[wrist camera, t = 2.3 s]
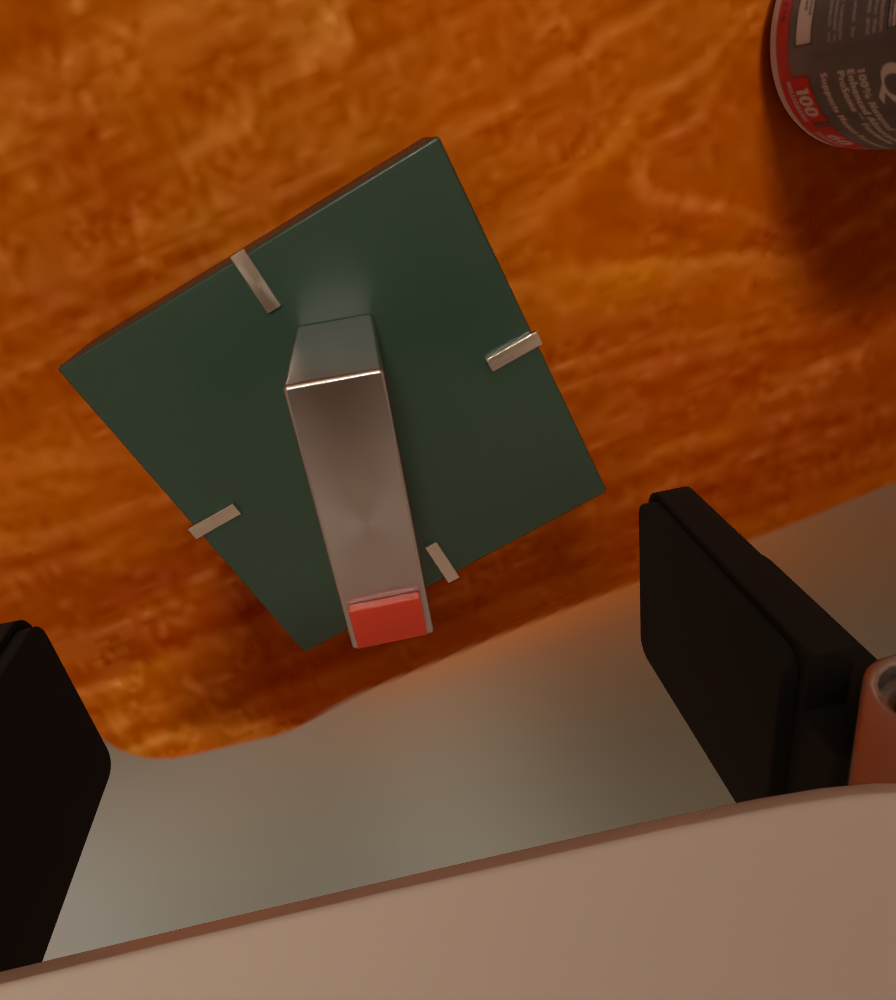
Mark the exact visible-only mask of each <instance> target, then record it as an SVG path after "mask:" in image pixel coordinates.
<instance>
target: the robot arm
mask: <svg viewBox="0 0 896 1000" xmlns="http://www.w3.org/2000/svg"><path fill="white" fill-rule="evenodd" d="M639 547H640V616H641V618H640V619H641V642H642V646H643V650H644V653H645V655H646V657H647V659H648V661H649V663H650V664H651V666H652V667H653V669H654V671H655V672H656V674H657V676H658V677H659V679H660V680H661V682H662V683H663V685H664V687H665V688H666V690H667V692H668V693H669V695H670V697H671V698H672V700H673V701H674V703H675V705H676V706H677V708H678V710H679V711H680V713H681V714H682V716H683V718H684V719H685V721H686V722H687V724H688V726H689V727H690V729H691V731H692V732H693V734H694V736H695V737H696V738H697V740H698V742H699V744H700V745H701V747H702V748H703V750H704V752H705V753H706V755H707V756H708V758H709V760H710V761H711V763H712V765H713V766H714V768H715V769H716V771H717V773H718V774H719V776H720V777H721V779H722V781H723V782H724V784H725V786H726V787H727V789H728V790H729V792H730V794H731V795H732V797H733V799H734V800H735V802H736V803H735V804H730V805H726V806H720V807H716V808H711V809H706V810H701V811H696V812H692V813H687V814H682V815H678V816H672V817H668V818H663V819H658V820H654V821H648V822H644V823H639V824H635V825H630V826H626V827H621V828H617V829H613V830H608V831H604V832H600V833H595V834H590V835H586V836H582V837H577V838H573V839H568V840H564V841H560V842H555V843H551V844H546V845H542V846H537V847H533V848H529V849H524V850H520V851H515V852H511V853H506V854H502V855H498V856H494V857H489V858H485V859H480V860H476V861H471V862H467V863H462V864H458V865H453V866H449V867H445V868H441V869H436V870H432V871H428V872H424V873H419V874H415V875H410V876H406V877H402V878H397V879H393V880H388V881H385V882H380V883H376V884H371V885H367V886H363V887H358V888H354V889H350V890H345V891H341V892H337V893H332V894H328V895H324V896H320V897H315V898H311V899H307V900H303V901H298V902H294V903H289V904H285V905H281V906H277V907H272V908H268V909H264V910H259V911H255V912H251V913H247V914H242V915H239V916H234V917H229V918H225V919H221V920H217V921H212V922H208V923H204V924H200V925H195V926H191V927H187V928H183V929H179V930H175V931H170V932H166V933H162V934H158V935H154V936H149V937H145V938H141V939H137V940H132V941H128V942H124V943H120V944H116V945H112V946H107V947H104V948H99V949H95V950H91V951H86V952H82V953H78V954H74V955H69V956H65V957H61V958H57V959H53V960H49V961H44V962H42V961H43V958H44V955H45V952H46V950H47V947H48V944H49V941H50V939H51V936H52V933H53V930H54V927H55V924H56V922H57V919H58V916H59V914H60V911H61V908H62V905H63V903H64V900H65V897H66V894H67V892H68V889H69V886H70V883H71V881H72V878H73V875H74V872H75V869H76V867H77V864H78V861H79V858H80V856H81V853H82V850H83V847H84V845H85V842H86V839H87V836H88V834H89V831H90V828H91V825H92V822H93V820H94V817H95V814H96V811H97V808H98V806H99V803H100V800H101V797H102V795H103V792H104V789H105V787H106V784H107V781H108V778H109V775H110V769H111V760H110V755H109V752H108V749H107V747H106V746H105V744H104V742H103V740H102V738H101V736H100V734H99V732H98V731H97V729H96V727H95V725H94V723H93V721H92V719H91V717H90V716H89V714H88V712H87V710H86V708H85V706H84V704H83V702H82V700H81V699H80V697H79V695H78V693H77V691H76V689H75V687H74V685H73V684H72V682H71V680H70V678H69V676H68V674H67V672H66V670H65V668H64V667H63V665H62V663H61V661H60V659H59V657H58V655H57V653H56V652H55V650H54V648H53V646H52V644H51V642H50V640H49V638H48V637H47V635H46V633H45V632H44V630H43V629H41V628H40V627H32V626H31V625H30V624H29V623H28V622H26V621H23V620H18V621H13V622H8V623H3V624H0V1000H896V655H891V656H888V657H885V658H881V659H878V660H877V659H876V658H875V657H874V656H873V655H872V654H870V653H869V652H868V651H867V650H866V649H865V648H864V647H863V646H862V645H861V644H860V643H859V642H858V641H856V639H854V638H853V637H852V636H851V635H850V634H849V633H848V632H847V631H846V630H845V629H843V627H842V626H841V625H840V624H838V623H837V622H836V621H835V620H834V619H833V618H832V617H831V616H830V615H829V614H828V613H827V612H826V611H825V610H823V609H822V608H821V607H820V606H819V605H818V604H817V603H816V602H815V601H814V600H813V599H812V598H811V597H809V596H808V595H807V594H806V593H805V592H804V591H803V590H802V589H801V588H800V587H799V586H798V585H797V584H796V583H794V582H793V581H792V580H791V579H790V578H789V577H788V576H787V575H786V574H785V573H784V572H783V571H782V570H781V569H780V568H779V567H777V566H776V565H775V564H774V563H773V562H772V561H771V560H769V559H768V558H766V557H765V556H763V555H761V554H760V553H759V552H758V551H757V550H756V549H755V548H754V547H753V546H752V545H751V544H750V543H749V542H748V541H747V540H746V539H744V538H743V537H742V536H741V535H740V534H739V533H738V532H737V531H736V530H735V529H734V528H733V527H732V526H731V525H730V524H729V523H727V522H726V521H725V520H724V519H723V518H722V517H721V516H720V515H719V514H718V513H717V512H716V511H715V510H714V509H713V508H712V507H710V506H709V505H708V504H707V503H706V502H705V501H704V500H703V499H702V498H701V497H700V496H699V495H698V494H697V493H696V492H695V491H693V490H692V489H691V488H689V487H681V488H676V489H671V490H666V491H661V492H656V493H652V494H651V495H650V498H649V503H647V504H642V505H641V506H640V509H639Z"/></svg>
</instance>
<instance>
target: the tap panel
mask: <svg viewBox="0 0 896 1000" xmlns="http://www.w3.org/2000/svg"><path fill="white" fill-rule="evenodd" d="M363 315H372V316H373V319H374V324H375V329H376V333H377V338H378V343H379V348H380V353H381V358H382V363H383V368H384V373H385V378H386V384H387V389H388V394H389V399H390V404H391V410H392V415H393V420H394V425H395V430H396V435H397V441H398V446H399V451H400V456H401V461H402V467H403V472H404V477H405V482H406V487H407V492H408V498H409V503H410V508H411V513H412V518H413V524H414V529H415V534H416V539H417V544H418V549H419V555H420V560H421V565H422V570H423V575H424V580H425V586H426V587H427V586H429V585H431V584H433V583H435V582H437V581H439V580H441V579H443V578H444V577H445V578H446V580H447V581H448V583H450V582H451V581H453V580H455V579H457V578H459V574H458V573H457V571H458V570H459V569H461V568H463V567H465V566H467V565H469V564H471V563H473V562H474V561H476V560H478V559H480V558H482V557H484V556H486V555H488V554H489V553H491V552H493V551H495V550H497V549H499V548H501V547H503V546H505V545H506V544H508V543H510V542H512V541H514V540H516V539H518V538H520V537H521V536H523V535H525V534H527V533H529V532H531V531H533V530H535V529H536V528H538V527H540V526H542V525H544V524H546V523H548V522H550V521H552V520H553V519H555V518H557V517H559V516H561V515H563V514H565V513H567V512H568V511H570V510H572V509H574V508H576V507H578V506H580V505H582V504H583V503H585V502H587V501H589V500H591V499H593V498H595V497H597V496H598V495H600V494H602V493H604V492H605V491H606V488H605V486H604V484H603V482H602V480H601V478H600V476H599V473H598V471H597V469H596V467H595V465H594V463H593V461H592V459H591V457H590V454H589V452H588V450H587V448H586V446H585V444H584V442H583V440H582V438H581V435H580V433H579V431H578V429H577V427H576V425H575V423H574V421H573V419H572V416H571V414H570V412H569V410H568V408H567V406H566V404H565V402H564V400H563V398H562V395H561V393H560V391H559V389H558V387H557V385H556V383H555V381H554V379H553V376H552V374H551V372H550V370H549V368H548V366H547V364H546V362H545V360H544V357H543V355H542V353H541V351H540V349H539V347H538V346H540V345H541V344H542V341H541V339H540V337H539V335H538V333H537V331H536V330H534V331H533V332H531V330H530V328H529V326H528V324H527V322H526V320H525V317H524V315H523V313H522V311H521V309H520V307H519V305H518V303H517V301H516V298H515V296H514V294H513V292H512V290H511V288H510V286H509V284H508V282H507V279H506V277H505V275H504V273H503V271H502V269H501V267H500V265H499V263H498V261H497V258H496V256H495V254H494V252H493V250H492V248H491V246H490V244H489V242H488V239H487V237H486V235H485V233H484V231H483V229H482V227H481V225H480V223H479V220H478V218H477V216H476V214H475V212H474V210H473V208H472V206H471V204H470V202H469V199H468V197H467V195H466V193H465V191H464V189H463V187H462V185H461V183H460V180H459V178H458V176H457V174H456V172H455V170H454V168H453V166H452V164H451V161H450V159H449V157H448V155H447V153H446V151H445V149H444V147H443V145H442V142H441V140H440V138H438V137H426V138H422V139H420V140H419V141H417V142H415V143H414V144H412V145H410V146H409V147H407V148H406V149H404V150H402V151H401V152H399V153H397V154H396V155H394V156H392V157H391V158H389V159H388V160H386V161H384V162H383V163H381V164H379V165H378V166H376V167H375V168H373V169H371V170H370V171H368V172H366V173H365V174H363V175H362V176H360V177H358V178H357V179H355V180H353V181H352V182H350V183H348V184H347V185H345V186H344V187H342V188H340V189H339V190H337V191H335V192H334V193H332V194H331V195H329V196H327V197H326V198H324V199H322V200H321V201H319V202H318V203H316V204H314V205H313V206H311V207H309V208H308V209H306V210H304V211H303V212H301V213H300V214H298V215H296V216H295V217H293V218H291V219H290V220H288V221H287V222H285V223H283V224H282V225H280V226H278V227H277V228H275V229H274V230H272V231H270V232H269V233H267V234H265V235H264V236H262V237H260V238H259V239H257V240H256V241H254V242H252V243H251V244H249V245H247V246H246V247H244V248H243V249H241V250H239V251H238V252H236V253H234V254H233V255H231V256H229V257H228V258H226V259H225V260H223V261H221V262H220V263H218V264H216V265H215V266H213V267H212V268H210V269H208V270H207V271H205V272H203V273H202V274H200V275H199V276H197V277H195V278H194V279H192V280H190V281H189V282H187V283H185V284H184V285H182V286H181V287H179V288H177V289H176V290H174V291H172V292H171V293H169V294H168V295H166V296H164V297H163V298H161V299H159V300H158V301H156V302H155V303H153V304H151V305H150V306H148V307H146V308H145V309H143V310H141V311H140V312H138V313H137V314H135V315H133V316H132V317H130V318H128V319H127V320H125V321H124V322H122V323H120V324H119V325H117V326H115V327H114V328H112V329H111V330H109V331H107V332H106V333H104V334H102V335H101V336H99V337H97V338H96V339H94V340H93V341H91V342H90V343H89V344H88V345H86V346H85V347H84V348H82V349H81V350H80V351H79V352H77V353H76V354H75V355H74V356H72V357H71V358H70V359H69V360H67V361H66V362H65V363H64V364H62V365H61V366H60V367H59V371H60V372H61V373H62V374H63V376H64V377H65V378H66V379H67V380H68V381H69V382H70V384H71V385H72V386H73V387H74V388H75V389H76V390H77V392H78V393H79V394H80V395H81V396H82V397H83V399H84V400H85V401H86V402H87V403H88V404H89V405H90V407H91V408H92V409H93V410H94V411H95V412H96V413H97V415H98V416H99V417H100V418H101V419H102V420H103V421H104V423H105V424H106V425H107V426H108V427H109V428H110V429H111V431H112V432H113V433H114V434H115V435H116V436H117V438H118V439H119V440H120V441H121V442H122V443H123V444H124V446H125V447H126V448H127V449H128V450H129V451H130V452H131V454H132V455H133V456H134V457H135V458H136V459H137V460H138V462H139V463H140V464H141V465H142V466H143V467H144V469H145V470H146V471H147V472H148V473H149V474H150V475H151V477H152V478H153V479H154V480H155V481H156V482H157V483H158V485H159V486H160V487H161V488H162V489H163V490H164V491H165V493H166V494H167V495H168V496H169V497H170V498H171V500H172V501H173V502H174V503H175V504H176V505H177V506H178V508H179V509H180V510H181V511H182V512H183V513H184V514H185V516H186V517H187V518H188V519H189V520H190V521H191V522H192V525H191V526H189V527H188V530H189V531H190V533H191V534H192V535H193V536H194V537H195V538H196V539H197V538H199V537H201V536H204V537H205V539H206V540H207V541H208V542H209V543H210V544H211V545H212V547H213V548H214V549H215V550H216V551H217V552H218V553H219V555H220V556H221V557H222V558H223V559H224V560H225V562H226V563H227V564H228V565H229V566H230V567H231V568H232V570H233V571H234V572H235V573H236V574H237V575H238V576H239V578H240V579H241V580H242V581H243V582H244V583H245V584H246V586H247V587H248V588H249V589H250V590H251V591H252V593H253V594H254V595H255V596H256V597H257V598H258V599H259V601H260V602H261V603H262V604H263V605H264V606H265V607H266V609H267V610H268V611H269V612H270V613H271V614H272V615H273V617H274V618H275V619H276V620H277V621H278V622H279V623H280V625H281V626H282V627H283V628H284V629H285V630H286V632H287V633H288V634H289V635H290V636H291V637H292V638H293V640H294V641H295V642H296V643H297V644H298V645H299V646H300V648H301V649H302V650H303V651H307V650H309V649H311V648H313V647H315V646H317V645H318V644H320V643H322V642H324V641H326V640H328V639H330V638H332V637H333V636H335V635H337V634H339V633H341V632H343V631H345V630H347V629H348V628H347V625H346V621H345V617H344V614H343V610H342V606H341V603H340V599H339V595H338V591H337V588H336V584H335V580H334V577H333V573H332V569H331V565H330V562H329V558H328V554H327V551H326V547H325V543H324V539H323V536H322V532H321V528H320V525H319V521H318V517H317V513H316V510H315V506H314V502H313V499H312V495H311V491H310V487H309V484H308V480H307V476H306V473H305V469H304V465H303V462H302V458H301V454H300V450H299V447H298V443H297V439H296V436H295V432H294V428H293V424H292V421H291V417H290V413H289V410H288V406H287V402H286V398H285V395H284V391H283V388H284V383H285V379H286V375H287V370H288V366H289V361H290V357H291V352H292V348H293V344H294V339H295V335H296V330H297V328H298V327H301V326H307V325H312V324H318V323H324V322H329V321H335V320H341V319H346V318H352V317H358V316H363Z"/></svg>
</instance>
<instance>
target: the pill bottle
mask: <svg viewBox="0 0 896 1000" xmlns="http://www.w3.org/2000/svg"><path fill="white" fill-rule="evenodd" d="M770 59H771V68H772V74H773V78H774V82H775V86H776V89H777V92H778V95H779V97H780V99H781V101H782V104H783V106H784V108H785V109H786V111H787V112H788V114H789V115H790V117H791V118H792V119H793V120H794V121H795V122H796V123H797V125H798V126H799V127H800V128H801V129H802V130H804V131H805V132H806V133H808V134H809V135H810V136H812V137H814V138H815V139H817V140H819V141H821V142H823V143H826V144H829V145H832V146H836V147H842V148H849V149H867V150H896V0H776V3H775V7H774V12H773V18H772V23H771V34H770Z"/></svg>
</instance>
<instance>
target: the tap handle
mask: <svg viewBox="0 0 896 1000" xmlns="http://www.w3.org/2000/svg"><path fill="white" fill-rule="evenodd" d="M283 391H284V395H285V398H286V402H287V406H288V410H289V413H290V417H291V421H292V424H293V428H294V432H295V436H296V439H297V443H298V447H299V450H300V454H301V458H302V462H303V465H304V469H305V473H306V476H307V480H308V484H309V487H310V491H311V495H312V499H313V502H314V506H315V510H316V513H317V517H318V521H319V525H320V528H321V532H322V536H323V539H324V543H325V547H326V551H327V554H328V558H329V562H330V565H331V569H332V573H333V577H334V580H335V584H336V588H337V591H338V595H339V599H340V603H341V606H342V610H343V614H344V617H345V621H346V625H347V628H348V632H349V636H350V640H351V643H352V646H353V647H354V648H359V649H360V648H365V647H370V646H374V645H379V644H384V643H389V642H394V641H399V640H404V639H408V638H413V637H418V636H423V635H427V634H429V633H432V632H433V629H434V627H433V622H432V617H431V612H430V606H429V601H428V596H427V591H426V586H425V580H424V575H423V570H422V565H421V560H420V555H419V549H418V544H417V539H416V534H415V529H414V524H413V518H412V513H411V508H410V503H409V498H408V492H407V487H406V482H405V477H404V472H403V467H402V461H401V456H400V451H399V446H398V441H397V435H396V430H395V425H394V420H393V415H392V410H391V404H390V399H389V394H388V389H387V384H386V378H385V373H384V368H383V363H382V358H381V353H380V348H379V343H378V338H377V333H376V329H375V324H374V319H373V316H372V315H363V316H358V317H352V318H346V319H341V320H335V321H329V322H324V323H318V324H312V325H307V326H301V327H298V328H297V330H296V335H295V339H294V344H293V348H292V352H291V357H290V361H289V366H288V370H287V375H286V379H285V383H284V388H283Z"/></svg>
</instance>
